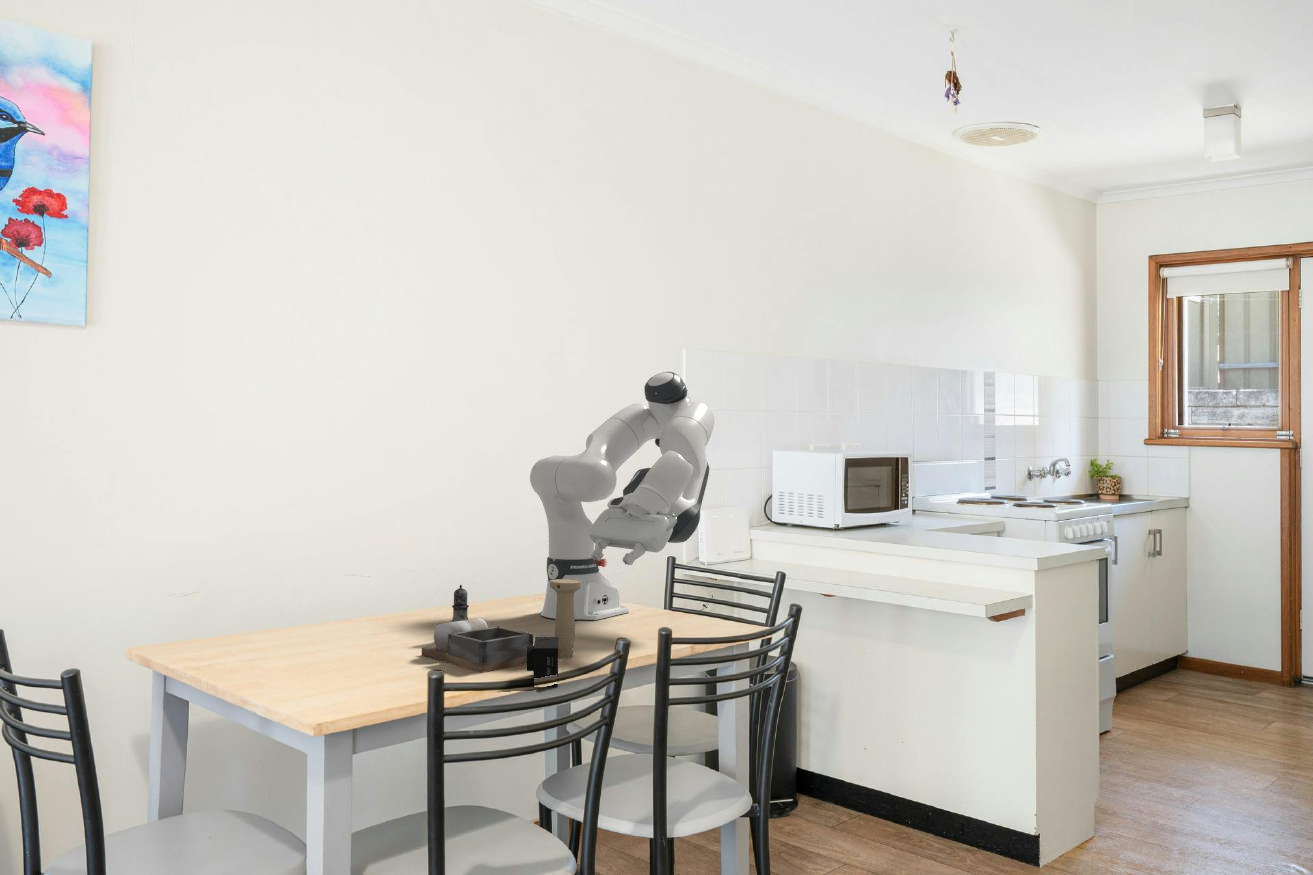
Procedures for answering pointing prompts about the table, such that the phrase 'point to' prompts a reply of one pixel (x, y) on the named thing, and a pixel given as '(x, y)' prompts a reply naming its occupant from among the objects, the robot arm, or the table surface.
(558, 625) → the handle
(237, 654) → the table surface
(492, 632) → the base
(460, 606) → the dark grey chess piece
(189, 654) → the table surface
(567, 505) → the robot arm
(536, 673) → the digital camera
